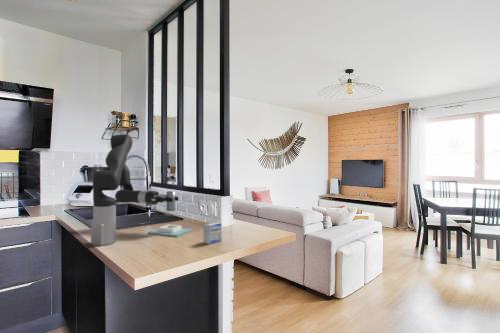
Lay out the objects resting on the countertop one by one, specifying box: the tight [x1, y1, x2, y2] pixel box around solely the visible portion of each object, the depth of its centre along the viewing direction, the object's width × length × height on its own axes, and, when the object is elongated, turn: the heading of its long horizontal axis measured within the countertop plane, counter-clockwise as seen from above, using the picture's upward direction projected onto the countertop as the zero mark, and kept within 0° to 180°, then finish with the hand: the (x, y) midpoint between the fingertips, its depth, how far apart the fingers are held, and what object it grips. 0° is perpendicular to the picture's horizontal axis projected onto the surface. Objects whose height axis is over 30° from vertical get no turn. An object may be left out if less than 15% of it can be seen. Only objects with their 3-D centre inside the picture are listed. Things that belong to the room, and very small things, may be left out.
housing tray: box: [147, 224, 193, 238], centre depth 149 cm, size 14×18×3 cm
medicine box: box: [202, 221, 222, 245], centre depth 132 cm, size 8×4×9 cm, turn 143°
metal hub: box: [165, 190, 176, 212], centre depth 149 cm, size 4×4×10 cm
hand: (175, 199), depth 148 cm, fingers closed on metal hub, 4 cm apart
